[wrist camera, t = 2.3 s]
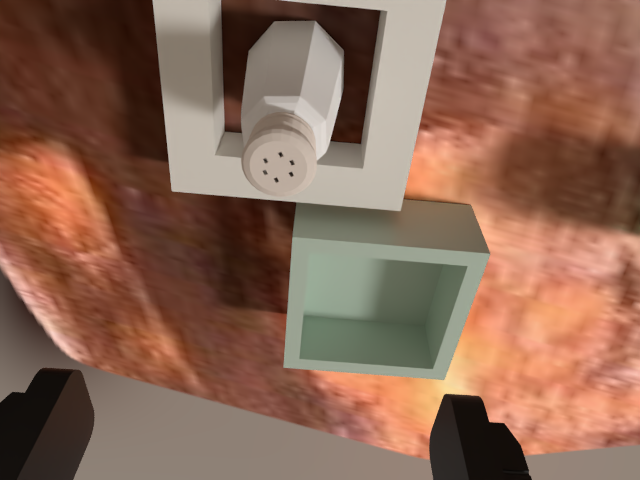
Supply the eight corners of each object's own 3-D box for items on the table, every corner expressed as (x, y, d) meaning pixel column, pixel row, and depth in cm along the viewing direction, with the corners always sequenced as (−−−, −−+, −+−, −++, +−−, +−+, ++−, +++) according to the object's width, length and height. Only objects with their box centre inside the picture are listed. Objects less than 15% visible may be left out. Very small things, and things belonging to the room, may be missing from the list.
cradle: (164, -86, 23) (144, -80, 21) (444, -57, 24) (456, -47, 21) (184, 165, 31) (171, 191, 29) (395, 184, 32) (400, 211, 29)
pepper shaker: (323, -3, 25) (316, 70, 16) (362, 95, 28) (373, 201, 19) (228, 41, 27) (175, 130, 18) (274, 130, 30) (247, 244, 21)
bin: (297, 190, 32) (292, 236, 28) (471, 205, 32) (490, 253, 28) (289, 314, 38) (283, 367, 34) (433, 326, 39) (444, 379, 35)
